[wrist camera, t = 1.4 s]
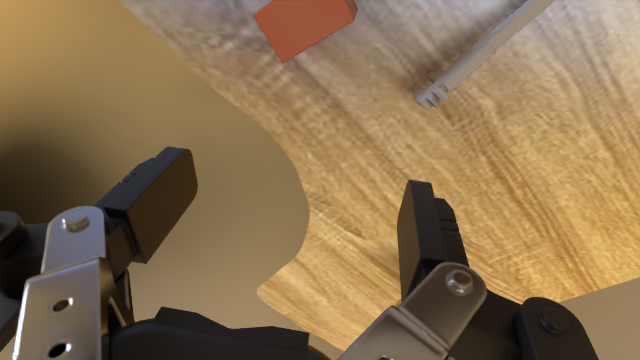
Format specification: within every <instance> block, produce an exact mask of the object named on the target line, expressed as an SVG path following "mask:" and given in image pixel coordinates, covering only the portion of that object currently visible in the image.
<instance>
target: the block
mask: <svg viewBox="0 0 640 360" xmlns="http://www.w3.org/2000/svg"><path fill="white" fill-rule="evenodd" d="M357 10H358V9H357V7H356V4H355V2H354V0H273V1H271V2H270V3H268V4H267V5H266V6H264V7H263V8H261V9H260V10H259V11H257V12H256V13H254V14H253V16H254V18H255V20H256V21H257V23H258V25H259V26H260V28H261V29H262V31H263V33H264V34H265V36H266V38H267V39H268V41H269V42H270V44H271V46H272V47H273V49H274V51H275V52H276V54H277V55H278V57H279V59H280V60H281V62H282V63H284V62H286V61H288V60H289V59H291V58H293V57H294V56H296V55H298V54H299V53H301V52H303V51H304V50H306V49H308V48H309V47H311V46H313V45H314V44H316V43H318V42H319V41H321V40H323V39H324V38H326V37H328V36H329V35H331V34H333V33H334V32H336V31H338V30H339V29H341V28H343V27H344V26H346V25H348V24H349V23H351V22H353V21H354V19H355V16H356V13H357Z"/></svg>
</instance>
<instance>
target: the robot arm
mask: <svg viewBox="0 0 640 360" xmlns="http://www.w3.org/2000/svg"><path fill="white" fill-rule="evenodd" d="M197 188H198V184H197V178H196V173H195V168H194V162H193V157H192V153H191V151H190V150H189V149H183V148H175V147H166V148H165V149H164V150H163V151H161V153H159V154H158V155H157V156H156V157H155V158H151V159H149V160H147V161H145V162H143V163H141V164H139V165H138V166H137V167H135V168H134V169H133V170H132V171H131V172H130V173H129V175H127V176H125V177H124V178H123V179H122V182H119V183H118V184H117V185H115V186H114V187H113V188H112V189H111V190H110V191H109V192H108V193H107V194H106V195H104V196H103V197H102V198H101V199H100V200H99V201H98V202H97V203H96V204H94V205H93V206H81V207H76V208H72V209H70V210H67V211H65V212H63V213H61V214H59V215H58V216H56V217H55V218H54V219H53V220H52V221H51V222H50V223H42V224H29V225H24V223H23V221H22V220H21V218H20V217H19V215H18V214H16V213H14V212H10V211H1V212H0V352H1V350H2V349H3V348H4V347H5V346H6V345H7V343H9V341H10V340H11V339H12V338H13V337H14V336H15V334H16V336H15V341H14V347H13V352H12V358H11V360H331V359H330V358H328V357H327V356H326V355H325V354H324V353H322V352H321V351H319V350H318V349H316V348H314V347H312V346H310V345H308V343H309V333H307V332H302V331H296V330H291V329H285V328H279V327H273V326H268V327H256V328H240V329H230V328H227V327H225V326H223V325H220V324H219V323H216V322H214V321H212V320H210V319H208V318H206V317H204V316H202V315H200V314H198V313H195V312H189V311H183V310H178V309H173V308H167V307H161V308H160V310H159V311H158V313H157V315H156V316H155V318H152V319H146V320H141V321H138V322H135V321H134V315H133V306H132V297H131V288H130V278H129V272H128V269H127V267H128V266H129V264H130V263H131V262H138V263H144V264H147V262H148V261H149V260H150V258H151V257H152V255H153V254H154V252H155V251H156V250H157V249H158V247H159V246H160V244H161V243H162V242H163V240H164V239H165V237H166V236H167V235H168V234H169V232H170V231H171V230H172V228H173V227H174V226H175V224H176V223H177V221H178V220H179V219H180V217H181V216H182V214H183V213H184V212H185V211H186V209H187V208H188V206H189V205H190V204H191V202H192V201H193V200H194V198H195V196H196V193H197ZM397 235H398V251H399V267H400V283H401V299H402V303H401V304H400V305H399V306H397V307H395V306H394V305H392V306H390V307H388V308H387V309H386V310H385V311H384V312H383V313H382V314H381V315H380V316H379V317H378V318H377V319H376V320H375V321H374V322H373V323H372V324H371V325H370V326H369V327H368V328H367V329H366V330H365V331H364V332H363V333H362V334H361V335H360V336H359V337H358V338H357V339H356V340H355V341H354V342H353V343H352V344H351V345H350V346H349V347H348V348H347V350H346V351H345V352H344V353H343V354H342V355H341V356H340V357H339V358H338V359H337V360H448V359H449V358H450V357H451V358H453V359H455V360H599V359H598V357H597V355H596V353H595V351H594V348H593V347H592V344H591V342H590V340H589V338H588V336H587V334H586V332H585V329H584V327H583V326H582V324H581V323H580V322H579V320H578V319H577V318H576V317H575V315H574V314H572V313H571V312H570V311H569V310H567V309H566V308H565V307H564V306H562V305H560V304H559V303H557V302H555V301H552V300H550V299H546V298H542V297H532V298H529V299H527V300H525V301H524V303H523V304H522V305H521V304H518V303H516V302H514V301H511V300H509V299H507V298H504V297H502V296H499V295H497V294H495V293H493V292H491V291H490V290H488V289H487V288H486V285H485V283H484V281H483V279H482V278H481V277H480V276H479V275H478V274H477V273H476V272H475V271H474V270H472V269H471V268H470V267H469V264H468V260H467V257H466V253H465V250H464V246H463V243H462V239H461V235H460V233H459V228H458V225H457V223H456V218H455V214H454V210H453V209H452V208H451V206H450V205H449V204H448V203H447V202H446V200H445V199H441V198H434V193H433V189H432V185H431V183H429V182H422V181H414V180H409V181H408V183H407V186H406V189H405V193H404V196H403V200H402V204H401V207H400V211H399V215H398V222H397Z"/></svg>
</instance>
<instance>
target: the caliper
mask: <svg viewBox="0 0 640 360" xmlns="http://www.w3.org/2000/svg"><path fill="white" fill-rule="evenodd" d="M554 1H555V0H528V1H527V2H525V3H524V4H523V5H522V6H521V7H520V8H518V9H517V10H516V11H515V12H514V13H513V14H512V15H510V16H509V17H508V18H507V19H506V20H505V21H503V22H502V23H501V24H500V25H499V26H498V27H497V28H495V29H494V30H493V31H492V32H491V33H490V34H489V35H487V36H486V37H485V38H484V39H483V40H482V41H480V42H475V43H473V44H472V45H471V46H470V47H469V48H468V49H467V50H466V51H465V52H464V53H462V54H461V55H460V56H459V57H458V58H457V59H456V60H455V61H454V62H453V64H452V65H451V66H450V67H449V68H447V69H446V70H440V71H433V72H430V73H428V74H426V76H427V77H428V78H429V79H430V81H431V82H432V84H431V85H430V86H429V87H428V88H427V89H424V88H422V87H419V86H417V85H416V84H415V85H414V86H413V87H412V93H413V97H414V99H415V100H416V101H417V103H418V104H419V105H420V106H421V107H423V108H425V109H427V110H428V109H429V108H431V107H432V106H434V107H436V108H438V107H439V101H438V99H439V100H446V99H449V98H450V97H449V96H448V95H447V94H446V92H447V91H449V92H450V91H451V90H453V89H454V88H455V87H456V86H457V85H459V84H460V83H461V82H462V81H463V80H465V79H466V78H467V77H468V76H469V75H470V74H472V73H473V72H474V71H475V70H476V69H477V68H479V67H480V66H481V65H482V64H483V63H485V62H486V61H487V60H488V59H489V58H490V57H492V56H493V55H494V54H495V51H496V50H497V49H498V48H499V47H500V46H502V45H503V44H504V43H505V42H506V41H508V40H509V39H510V38H511V37H512V36H513V35H515V34H516V33H517V32H518V31H519V30H521V29H522V28H523V27H524V26H525V25H527V24H528V23H529V22H530V21H531V20H532V19H534V18H535V17H536V16H537V15H538V14H540V13H541V12H542V11H543V10H544V9H545V8H547V7H548V6H549V5H550V4H551V3H553V2H554Z"/></svg>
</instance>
